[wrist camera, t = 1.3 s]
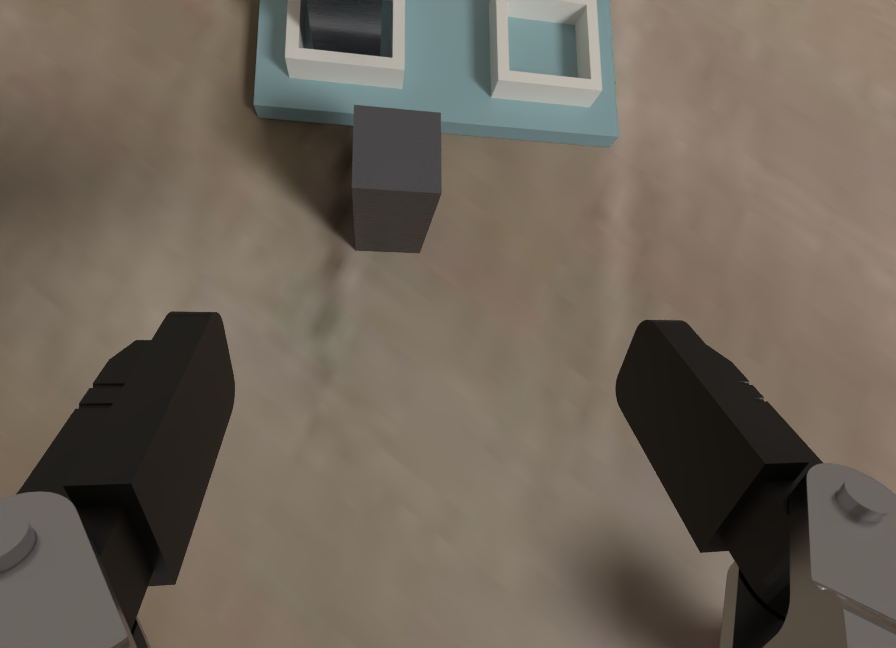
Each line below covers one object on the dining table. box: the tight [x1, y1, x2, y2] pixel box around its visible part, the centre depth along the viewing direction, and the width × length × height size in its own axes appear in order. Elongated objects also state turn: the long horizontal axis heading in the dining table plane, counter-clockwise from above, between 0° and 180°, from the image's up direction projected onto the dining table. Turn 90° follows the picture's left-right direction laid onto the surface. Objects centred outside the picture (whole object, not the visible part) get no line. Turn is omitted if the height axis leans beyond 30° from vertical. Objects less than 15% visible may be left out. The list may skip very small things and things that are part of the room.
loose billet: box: [352, 105, 441, 253], centre depth 29 cm, size 4×5×10 cm
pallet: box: [254, 0, 619, 147], centre depth 35 cm, size 26×12×4 cm, turn 91°
